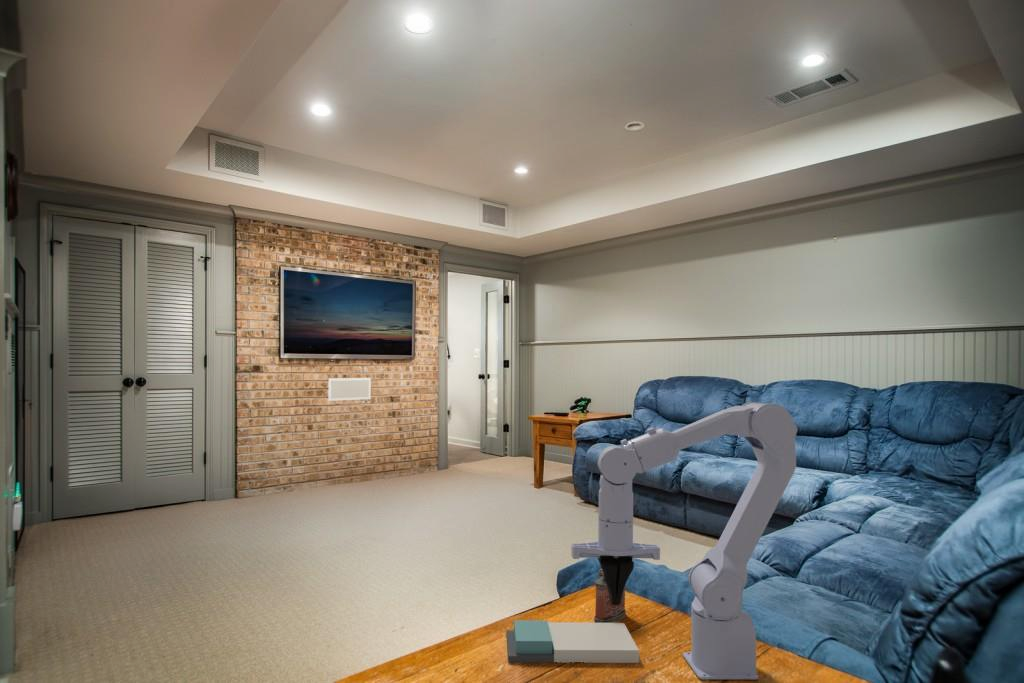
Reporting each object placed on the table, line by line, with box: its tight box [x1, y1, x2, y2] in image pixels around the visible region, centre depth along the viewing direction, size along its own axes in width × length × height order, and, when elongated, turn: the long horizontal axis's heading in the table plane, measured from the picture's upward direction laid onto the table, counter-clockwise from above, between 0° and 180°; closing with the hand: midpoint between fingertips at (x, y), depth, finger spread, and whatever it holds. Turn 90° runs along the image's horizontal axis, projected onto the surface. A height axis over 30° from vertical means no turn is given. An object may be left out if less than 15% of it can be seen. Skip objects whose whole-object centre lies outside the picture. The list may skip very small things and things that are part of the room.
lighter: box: [593, 568, 627, 623], centre depth 110 cm, size 8×3×10 cm, turn 133°
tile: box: [513, 619, 552, 654], centre depth 97 cm, size 6×8×2 cm
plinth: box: [548, 621, 640, 664], centre depth 97 cm, size 14×10×2 cm
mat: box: [505, 629, 554, 664], centre depth 96 cm, size 8×10×1 cm
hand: (614, 602), depth 93 cm, fingers closed
